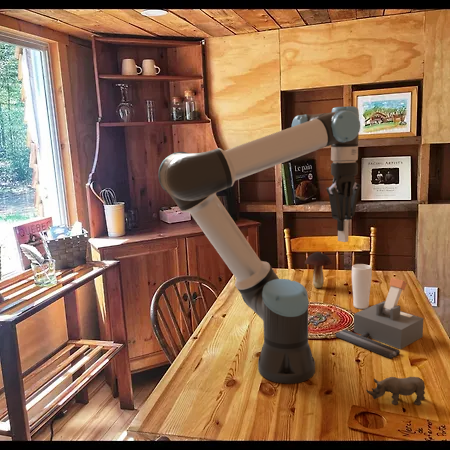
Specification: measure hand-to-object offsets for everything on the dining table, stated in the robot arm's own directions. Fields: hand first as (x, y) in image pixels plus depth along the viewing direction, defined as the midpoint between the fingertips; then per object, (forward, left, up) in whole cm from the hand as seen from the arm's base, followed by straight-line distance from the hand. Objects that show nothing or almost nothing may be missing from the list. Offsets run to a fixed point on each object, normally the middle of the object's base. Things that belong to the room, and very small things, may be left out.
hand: (342, 240), depth 133 cm
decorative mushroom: (+28, +33, -30) cm, 53 cm away
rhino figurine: (-20, -31, -30) cm, 47 cm away
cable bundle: (+1, -10, -30) cm, 31 cm away
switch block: (+10, -10, -30) cm, 33 cm away
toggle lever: (+10, -10, -22) cm, 26 cm away
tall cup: (+23, +9, -30) cm, 39 cm away
